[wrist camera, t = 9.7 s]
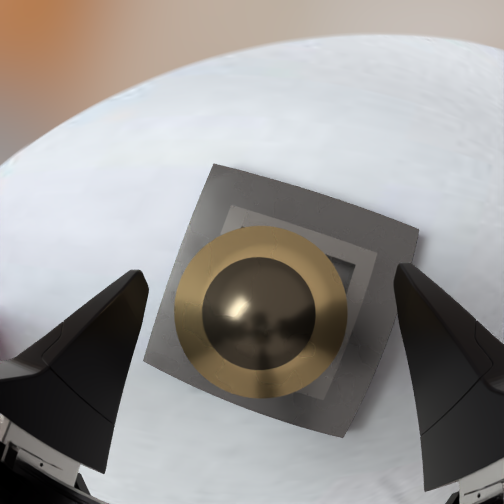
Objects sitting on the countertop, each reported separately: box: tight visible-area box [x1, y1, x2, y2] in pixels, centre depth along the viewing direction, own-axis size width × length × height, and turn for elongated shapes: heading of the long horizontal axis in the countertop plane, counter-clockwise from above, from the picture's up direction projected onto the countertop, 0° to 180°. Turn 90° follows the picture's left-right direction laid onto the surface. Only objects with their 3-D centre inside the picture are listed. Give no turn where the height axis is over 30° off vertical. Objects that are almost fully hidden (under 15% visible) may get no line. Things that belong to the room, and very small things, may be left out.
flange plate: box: [143, 164, 419, 438], centre depth 17 cm, size 14×14×2 cm
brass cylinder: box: [174, 226, 348, 399], centre depth 12 cm, size 5×5×9 cm
